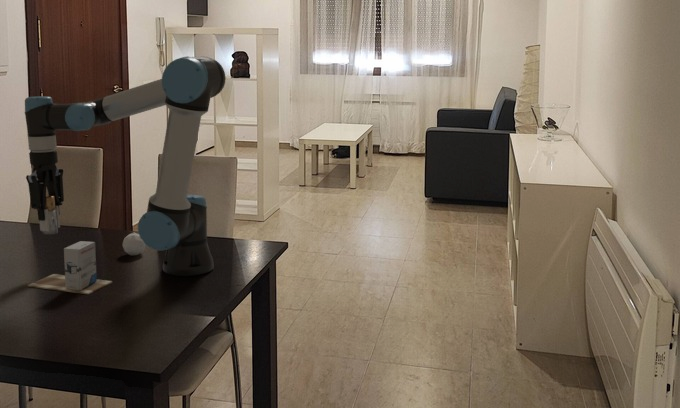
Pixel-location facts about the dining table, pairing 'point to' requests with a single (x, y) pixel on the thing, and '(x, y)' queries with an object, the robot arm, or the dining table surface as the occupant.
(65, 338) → the dining table surface
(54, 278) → the panel
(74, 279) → the ink box
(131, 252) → the ornament
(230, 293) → the dining table surface
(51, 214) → the brown grey rounded cylinder
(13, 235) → the dining table surface
